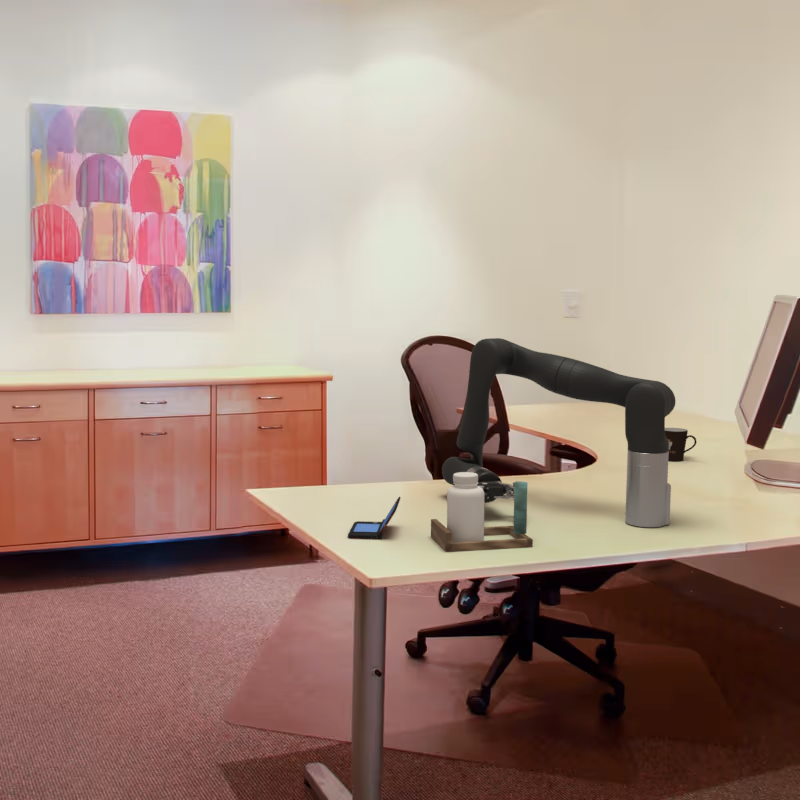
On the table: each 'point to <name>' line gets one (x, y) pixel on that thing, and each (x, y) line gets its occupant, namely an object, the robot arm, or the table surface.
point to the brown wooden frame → (491, 529)
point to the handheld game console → (371, 527)
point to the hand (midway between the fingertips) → (503, 497)
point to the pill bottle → (465, 508)
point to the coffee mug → (677, 443)
